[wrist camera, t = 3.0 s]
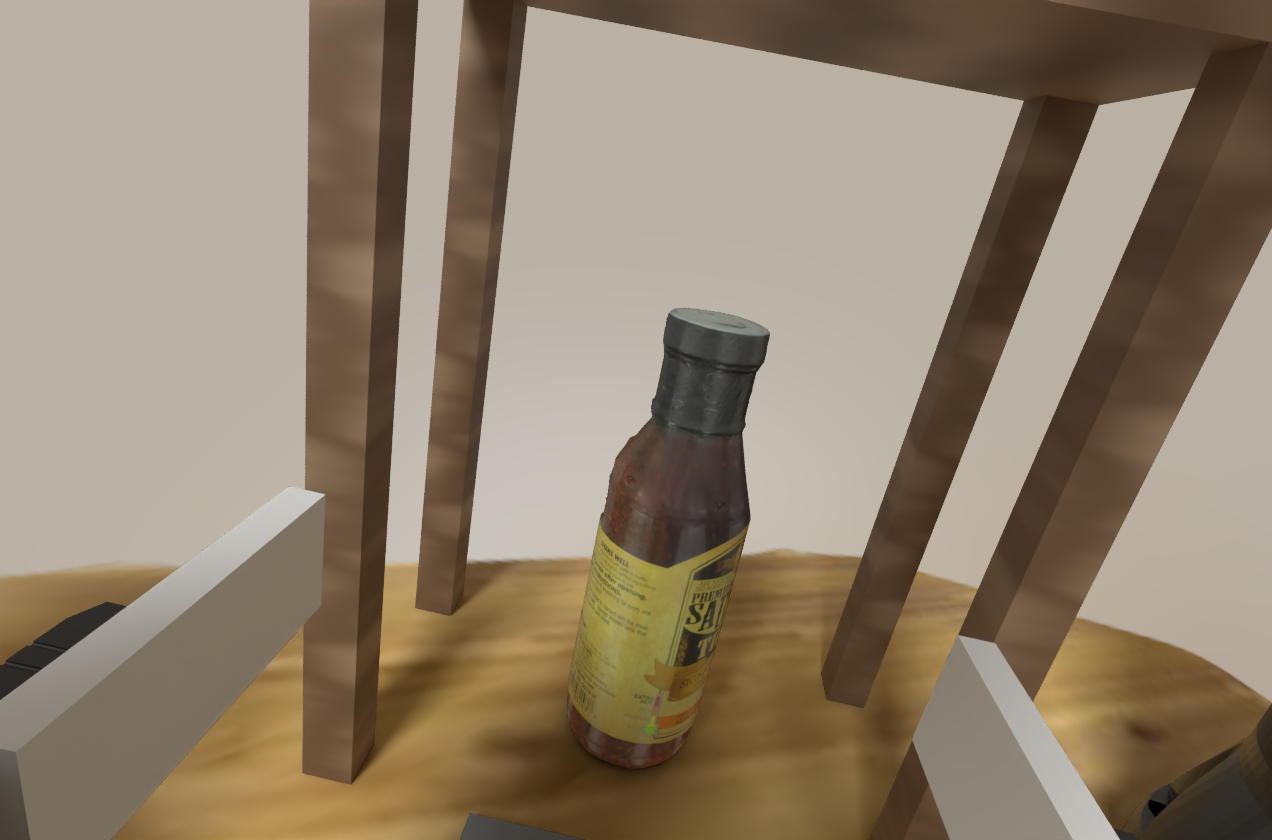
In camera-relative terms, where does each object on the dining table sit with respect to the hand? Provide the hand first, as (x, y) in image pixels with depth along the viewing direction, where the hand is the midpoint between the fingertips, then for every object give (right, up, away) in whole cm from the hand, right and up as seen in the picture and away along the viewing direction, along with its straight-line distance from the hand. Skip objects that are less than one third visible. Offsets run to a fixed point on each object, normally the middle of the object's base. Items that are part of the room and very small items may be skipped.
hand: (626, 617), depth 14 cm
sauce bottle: (0, -11, +19) cm, 21 cm away
